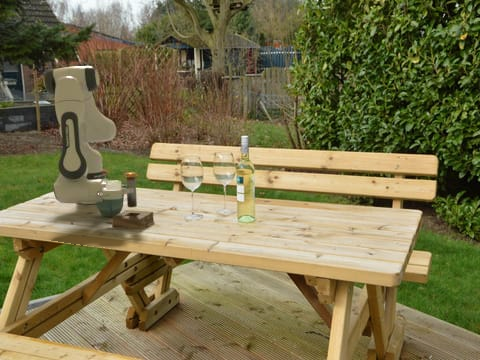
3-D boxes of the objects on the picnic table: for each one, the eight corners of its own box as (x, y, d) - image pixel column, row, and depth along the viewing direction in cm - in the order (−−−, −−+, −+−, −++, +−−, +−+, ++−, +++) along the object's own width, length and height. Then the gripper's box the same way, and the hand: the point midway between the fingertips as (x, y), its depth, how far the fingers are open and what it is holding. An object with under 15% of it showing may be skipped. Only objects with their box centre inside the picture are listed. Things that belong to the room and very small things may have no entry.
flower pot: (95, 216, 227) (94, 195, 226) (109, 211, 235) (108, 191, 233) (111, 219, 223) (110, 197, 222) (125, 214, 231) (124, 193, 229)
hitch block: (127, 219, 222) (126, 209, 222) (153, 221, 219) (153, 211, 218) (112, 227, 211) (111, 217, 210) (139, 229, 208) (139, 219, 207)
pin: (129, 204, 216) (128, 172, 214) (140, 205, 215) (139, 172, 212) (123, 207, 212) (122, 174, 209) (134, 208, 210) (133, 174, 208)
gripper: (96, 187, 199) (134, 186, 202) (97, 178, 218) (132, 176, 221) (97, 204, 200) (135, 202, 203) (98, 193, 219) (133, 191, 223)
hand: (133, 188), depth 212 cm, fingers closed on pin, 4 cm apart
